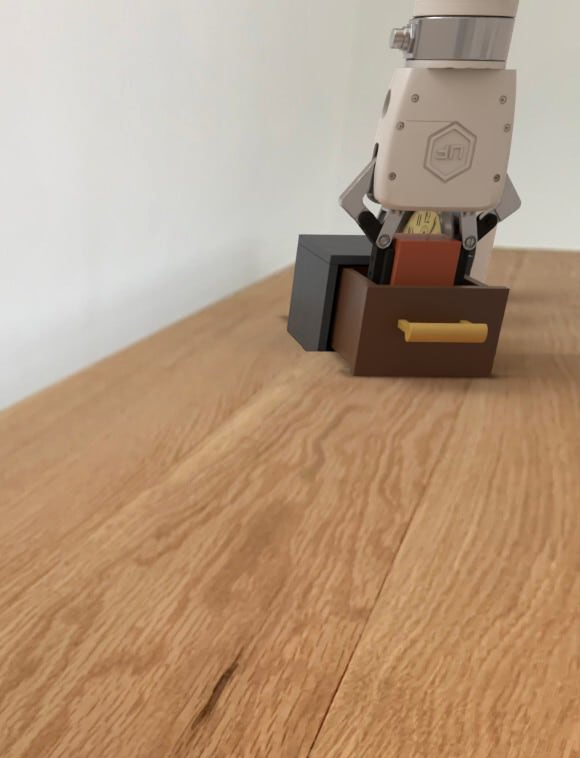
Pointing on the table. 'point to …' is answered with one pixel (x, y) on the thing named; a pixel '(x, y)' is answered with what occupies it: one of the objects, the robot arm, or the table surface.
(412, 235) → the block
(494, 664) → the table surface
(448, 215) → the alarm clock
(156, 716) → the table surface
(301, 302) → the cabinet
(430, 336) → the drawer
